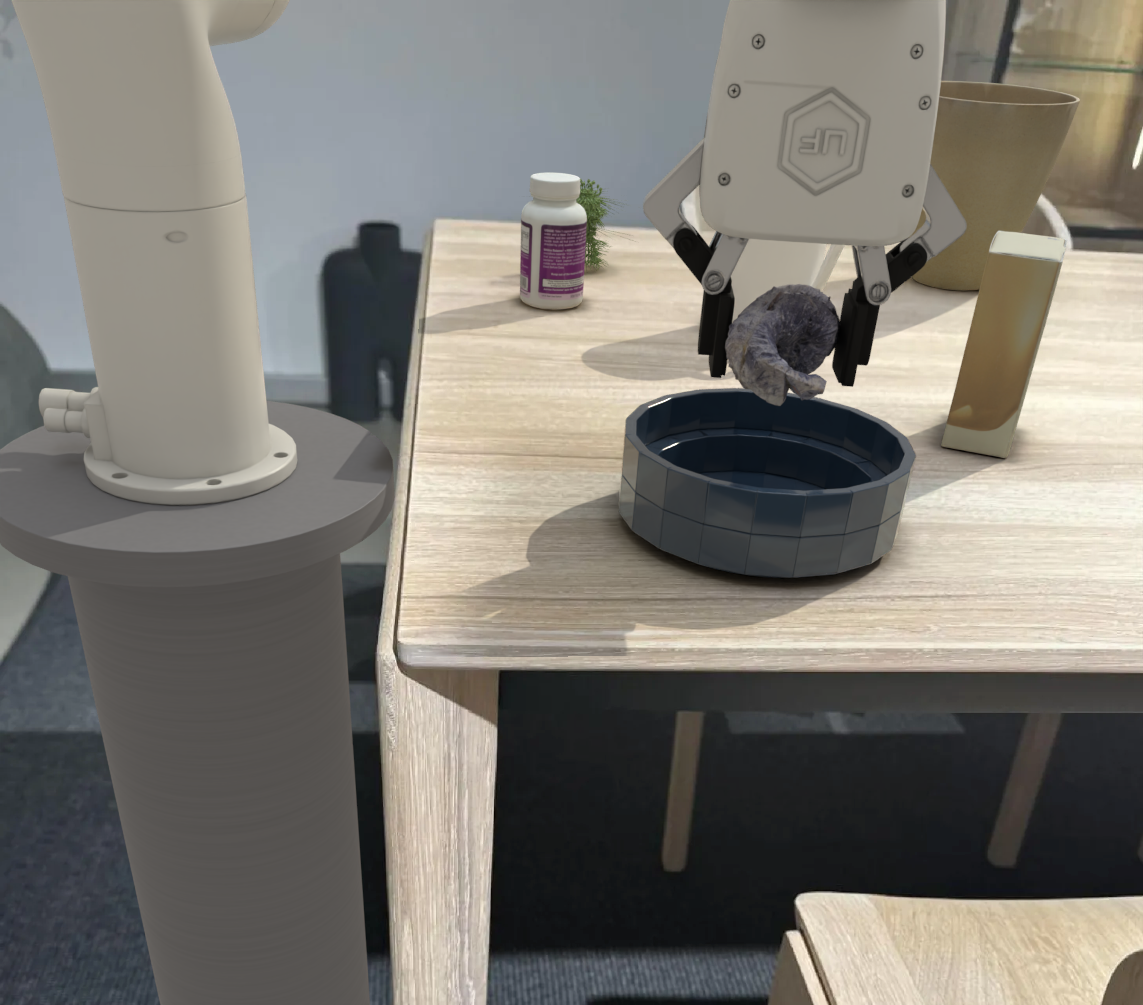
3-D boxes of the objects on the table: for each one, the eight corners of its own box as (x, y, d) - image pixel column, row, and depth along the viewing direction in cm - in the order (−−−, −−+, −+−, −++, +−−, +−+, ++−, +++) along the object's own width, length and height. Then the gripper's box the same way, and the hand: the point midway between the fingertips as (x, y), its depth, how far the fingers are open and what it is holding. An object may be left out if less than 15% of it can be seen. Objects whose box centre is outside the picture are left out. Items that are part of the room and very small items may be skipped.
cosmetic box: (950, 418, 82) (997, 227, 74) (1015, 429, 80) (1069, 236, 73) (938, 449, 77) (987, 247, 70) (1007, 461, 76) (1064, 258, 68)
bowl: (615, 576, 60) (623, 482, 57) (620, 462, 72) (627, 379, 69) (918, 598, 59) (941, 504, 57) (870, 479, 72) (888, 398, 69)
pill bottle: (592, 300, 101) (600, 176, 95) (566, 314, 97) (572, 185, 91) (536, 290, 103) (540, 167, 97) (507, 304, 99) (510, 176, 93)
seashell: (780, 440, 58) (781, 382, 66) (865, 358, 55) (856, 308, 63) (701, 363, 56) (713, 313, 64) (785, 275, 54) (786, 235, 62)
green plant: (493, 257, 111) (495, 169, 107) (604, 249, 116) (610, 165, 112) (553, 290, 103) (557, 196, 99) (670, 280, 108) (678, 190, 104)
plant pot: (920, 254, 122) (958, 76, 113) (1056, 286, 114) (1109, 97, 104) (839, 275, 113) (872, 83, 104) (980, 312, 105) (1030, 107, 96)
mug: (682, 326, 96) (697, 188, 90) (749, 309, 101) (768, 177, 95) (791, 362, 90) (815, 215, 84) (857, 341, 95) (884, 202, 89)
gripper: (640, -64, 47) (609, 386, 58) (1073, -37, 47) (963, 410, 58) (641, -67, 53) (613, 341, 64) (1024, -43, 53) (932, 362, 64)
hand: (779, 370), depth 61 cm, fingers closed on seashell, 5 cm apart
